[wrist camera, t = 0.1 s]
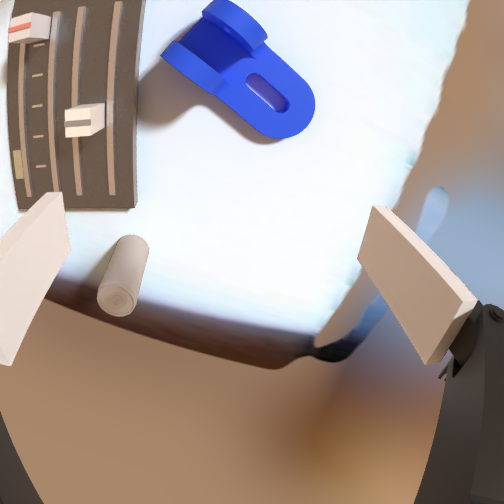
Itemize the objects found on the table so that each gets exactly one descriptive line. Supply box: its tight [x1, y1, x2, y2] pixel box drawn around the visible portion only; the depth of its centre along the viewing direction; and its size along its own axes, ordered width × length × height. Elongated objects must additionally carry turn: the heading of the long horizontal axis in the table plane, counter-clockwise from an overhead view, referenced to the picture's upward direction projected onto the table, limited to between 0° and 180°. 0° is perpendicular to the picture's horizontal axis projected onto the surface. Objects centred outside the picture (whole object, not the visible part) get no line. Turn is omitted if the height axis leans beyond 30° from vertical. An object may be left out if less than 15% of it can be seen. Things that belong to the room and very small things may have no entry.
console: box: [7, 0, 146, 209], centre depth 30 cm, size 30×18×3 cm, turn 174°
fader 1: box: [8, 12, 51, 44], centre depth 22 cm, size 3×3×5 cm
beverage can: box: [97, 235, 149, 316], centre depth 39 cm, size 5×5×12 cm
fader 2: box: [64, 103, 105, 138], centre depth 29 cm, size 3×3×5 cm
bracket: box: [160, 0, 315, 139], centre depth 30 cm, size 18×8×9 cm, turn 47°
